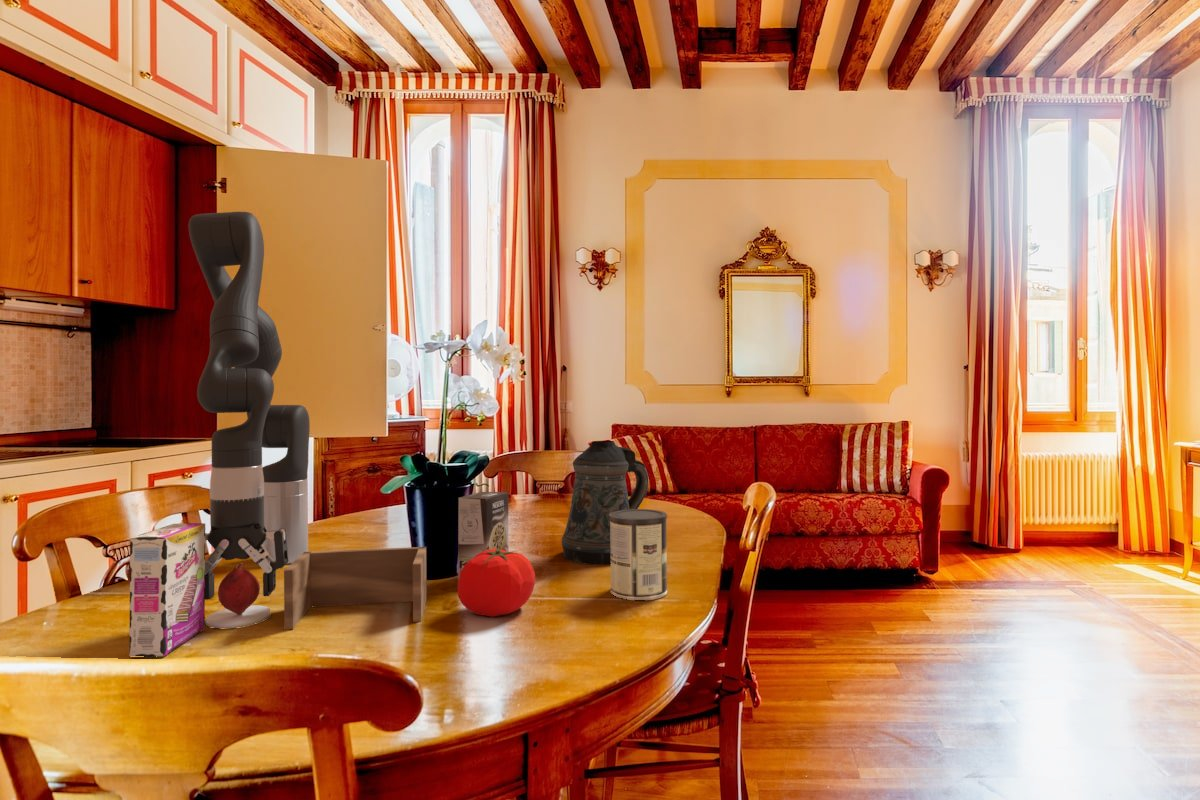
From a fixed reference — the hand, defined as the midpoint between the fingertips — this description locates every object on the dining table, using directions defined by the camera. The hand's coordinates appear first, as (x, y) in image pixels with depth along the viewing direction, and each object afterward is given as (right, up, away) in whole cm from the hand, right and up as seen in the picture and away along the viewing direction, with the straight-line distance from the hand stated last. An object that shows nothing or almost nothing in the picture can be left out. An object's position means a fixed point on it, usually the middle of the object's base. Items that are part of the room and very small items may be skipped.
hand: (238, 596), depth 106 cm
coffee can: (+64, -4, +14) cm, 66 cm away
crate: (+18, -4, +3) cm, 19 cm away
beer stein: (+58, -3, +42) cm, 72 cm away
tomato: (+41, -4, +3) cm, 41 cm away
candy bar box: (-4, -4, -10) cm, 12 cm away
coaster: (0, -4, 0) cm, 4 cm away
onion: (0, -3, 0) cm, 3 cm away
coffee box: (+35, -3, +24) cm, 42 cm away
